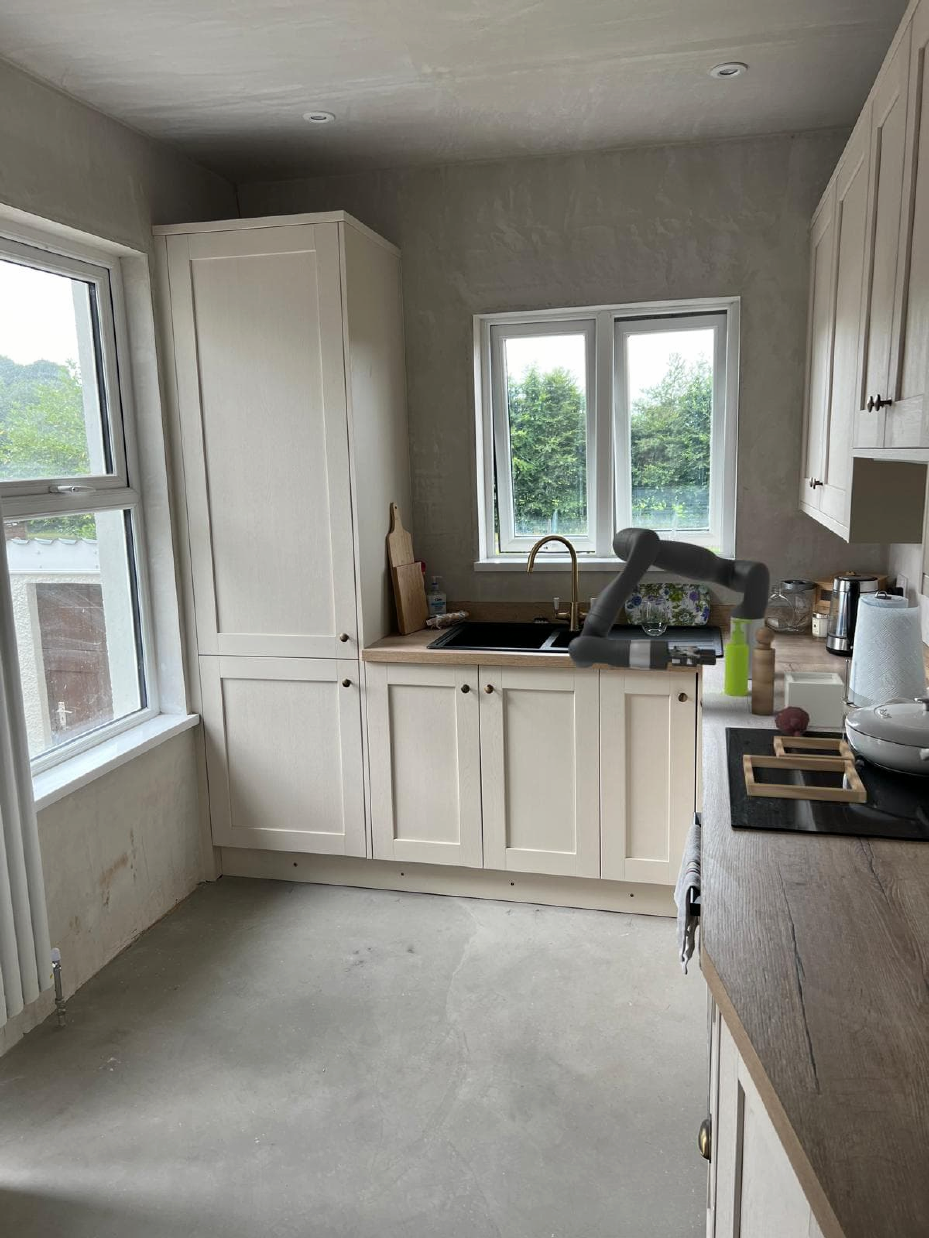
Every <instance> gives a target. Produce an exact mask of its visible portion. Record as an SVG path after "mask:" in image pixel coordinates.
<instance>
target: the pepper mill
mask: <svg viewBox="0 0 929 1238" xmlns="http://www.w3.org/2000/svg"><path fill="white" fill-rule="evenodd" d="M755 638H756V640H757V642H758V647H756V648H753V666H752V679H751V701H750V704H751V706H750V712H751V714H752V715H755V716H759V717H760V716H761V717H762V716H763V717H766V716H772V715H773V716H774V702H775V700H774V699H775V698H774V697H775V671H776V648H773V647H772V643H773V641H774V639H775V632H774V631H773V629H772V628H770V627H768V626H764V627H761V628H759V629H758V630H757V631H756V633H755Z"/></svg>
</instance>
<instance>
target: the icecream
mask: <svg viewBox="0 0 929 1238" xmlns="http://www.w3.org/2000/svg"><path fill="white" fill-rule="evenodd" d="M809 721H810V719H809V714H808V713H807V712H805V711H804V710H803V709H801V708H799V707H791V706H789V707H787V708H786V709H784V710H783V709H781V710H780V711H779V712H778V713H777V716H776V717H775V718H774V723H775V727H776V729H778V730H779V731H780V732H781V734H783V735H784V736H786V737H804V736H803V735H804V733H806V732H807V731H808V727H809V726H808V723H809Z"/></svg>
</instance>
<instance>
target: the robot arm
mask: <svg viewBox="0 0 929 1238" xmlns="http://www.w3.org/2000/svg"><path fill="white" fill-rule="evenodd" d="M612 549H613V552H614V554H615V556H616V557H617V558H618V559H619V560H621V561H623V562H625V564H624V565H623V568H622V569H621V570H620V572H619V573H618V574H617V575H616V576H615V578H613V580H611V582H610V583H609V584H607V585H606V587H604V588H603V589H602V590H601V591H600V592H599V593H598V595H597V596H596V598H595V599H594V601H593V603H592V604H591V607H590V609H589V610H588V613H587V614H586V616H585V619H584V622H583V629H582V631H581V633H580V635H579V636H577V637H574V638H573V639H572V640H571V641H570V642H569V644H568V648H567V649H568V655H569V658H571V661H572V662H573V664H574V665H575V666H576V667H579V668H582V669H587V668H590V667H592V666H594V664H601V665H603V664H604V665H608V666H609V667H614V668H623V669H624V668H625V669H635V670H648V671H667V670H668V669H669V663H671V667H672V666H673V667H683V668H684V667H685V668H686V667H688V668H697V667H699V666H716V665H717V656H716V655H717V651H716V649H713V648H710V649H709V648H700V647H698V646H696V645H692V646H690V645H673V648H670V645H669V644H670V643H669V641H668V640H667V639H665V640H663V639H631V640H630V639H609V638H608V637H607V636H608V634H609V632H610V631H611V629H612V628H613V626H614V624H615V622H616V620H617V618H618V616H619V614H620V612H621V610H622V609H623V606H624V605H625V603H626V602H627V600H628V598H629V596H630V595H631V594H632V592H633V591H634V590H635V588H636V586H637V585H638V584H639V583H640V582H641V580H642V579H643V577H644V576H645V574H646V573H647V571H648V570H649V569H650V568H651V566H652V567H655V568H657V569H660V570H662V571H666V572H667V573H668V572H669V573H671V574H672V575H673V574H674V575H676V576H679V577H682V578H687V579H690V580H693V581H699V582H709V583H714V584H717V585H719V586H723V587H724V588H726V589H729V590H731V591H732V592H733V591H734V592H737V593H741V594H743V600H742V602H740V603H739V604H736V605H733V606H732V607H731V609H730V634H729V636H730V637H729V639H730V640H729V641H730V642H729V644H730V643H731V632H732V631H734V623H733V622H732V620H734V619H747V620H752V621H753V622H754V623H753V624H752V623H741V631H742V632H744V644H747V645H749V656H748V680H752V666H753V648H756V647H758V642H757V640H756V638H755V633H756V631H757V630H758V629H759V628H761V627H765V620H766V619H765V615H766V611H767V607H768V606H769V605H768V604H769V596H770V595H769V594H770V593H769V592H770V580H771V578H770V577H771V576H770V575H771V574H770V570H769V568H768V566H767V565H766V564H765V563H764V562H761V561H755V560H754V561H752V560H744V559H731V558H724V557H720V556H717V554H716V553H714V551H713V550H712V551H711V550H710V549H708V548H706V547H704V546H700V545H698V544H694V543H688V542H683V541H678V540H677V541H676V540H668V539H667V540H666V539H660V536H659V534H658V533H657V532H656V531H654V530H653V529H649V528H644V527H643V528H641V527H626V528H623V529H621V530H620V531H618V532H617V533H616V534H615V535H614V537H613V539H612Z"/></svg>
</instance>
